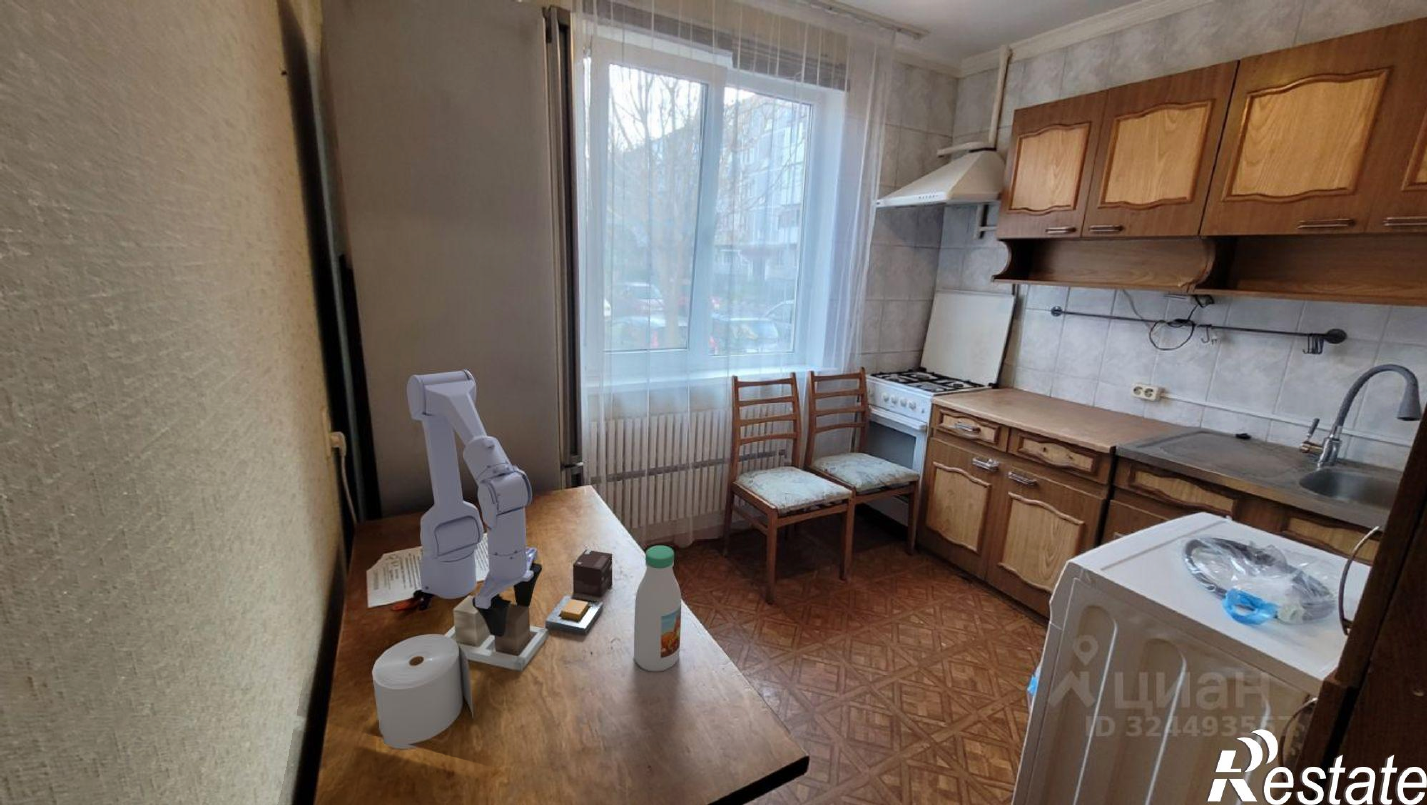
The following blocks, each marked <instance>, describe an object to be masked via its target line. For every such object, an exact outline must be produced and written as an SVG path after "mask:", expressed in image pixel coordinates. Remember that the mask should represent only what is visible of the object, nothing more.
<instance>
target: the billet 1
mask: <svg viewBox="0 0 1427 805" xmlns="http://www.w3.org/2000/svg"><path fill="white" fill-rule="evenodd" d="M465 597H466V596H465ZM474 597H475V595H469V594H468V595H467V597H466V598H464V599H463V600H462V601H461V602H459V603H458V604H457V605H456V606H455V607H454V608H453V611H452V612H453V620H454V625H455V636H456V643H459V644H464V645H468V646H473V647H477V648H479V647H480V646H481V645H482V644H483V642H484V641H485V640H486V639H487V638H488V637H489V636H490V635H491V634H490V632H489V629H488V627H487V624H486V622H485V620H484V618H483V617H482V615H481V614H480V613H479V611H478V610H477V609H476V608H475V607H474V606H473V603H472V599H473V598H474Z"/></svg>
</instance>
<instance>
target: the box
mask: <svg viewBox="0 0 1427 805" xmlns="http://www.w3.org/2000/svg"><path fill="white" fill-rule="evenodd" d="M572 582H573V583H572V588H573V590H572V591H573V594H575V595H576V594H577V595H582V596H588V597H593V598H602V597H603V595H604V594H605V593H606V592H607V590H610V589H611V588H612V586H613V553H610V552H603V551H597V550H590V549H585V550H584V551H583V552H582V553H581V555H579V556H578V558H577V559H576V560H575V561H574V563H573V564H572Z"/></svg>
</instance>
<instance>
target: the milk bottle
mask: <svg viewBox="0 0 1427 805" xmlns="http://www.w3.org/2000/svg"><path fill="white" fill-rule="evenodd" d="M674 560H675V552H674V550H673V549H672V548H671V547H669V546H666V545H654V546H651V547H648V549H646V552H645V560H644V561H645V563H644V565H645V567H646V569H645V572H644V575H643V577H642V579H641V581H640V582H639V584H638V586H637V590H636V593H635V600H634V601H635V602H634V625H633V627H634V632H633V633H634V634H633V658H634V659H635V662H636V663H637V665H638V666H639V667H640V668H642V669H644V670H646V671H648V672H662V671H665V670H668V669H670V668H672V667H673V666H674V665H675V664H676V663H677V662H678V660H679V658H680V650H681V648H680V647H681V646H680V645H681V628H682V627H681V625H682V592H681V588H680V586H679V583H678V580H677V579H676V576H675V574H674V570H673V566H674V564H675V563H674Z"/></svg>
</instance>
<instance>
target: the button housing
mask: <svg viewBox="0 0 1427 805" xmlns="http://www.w3.org/2000/svg"><path fill="white" fill-rule="evenodd" d="M570 599H573V600H578V601H584V602H588V611H587V613H586V614H585V616H584V617H583V618H582V620H581V621H578V620H573V619H568V618H563V617H561V610H562V609H563V608H564V606H565V605H566V604H567V602H568V601H569V600H570ZM603 610H604V602H602V601H596V600H591V599H587V598H582V597H576V596H570V595H565V596H563V598H562V599H561V600H560V602H559V603H558V604H557V605H556V607H554V608H553V610H552V611H551V612H550V614H549V615H548V616H547V617H546V619H545V620H544V622H545V623H544V624H545V628H544V629H548V630H555V631H560V632H565V633H568V634H569V633H570V634H573V635H579V636H583V637H584V636H586V635H587V634H588V633H589V631H590V630H591V628H592V627H593V625H594V624H595V623H596V620H598V618H599V616H600V615H601V613H602V612H603Z"/></svg>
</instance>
